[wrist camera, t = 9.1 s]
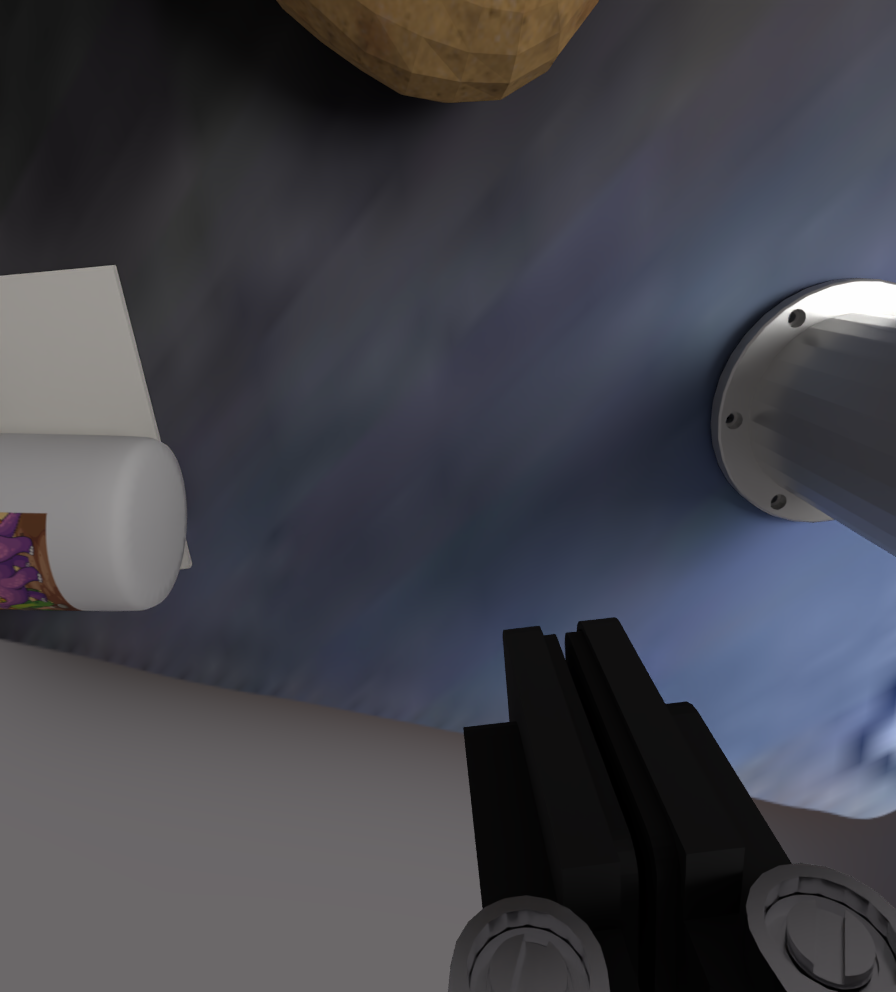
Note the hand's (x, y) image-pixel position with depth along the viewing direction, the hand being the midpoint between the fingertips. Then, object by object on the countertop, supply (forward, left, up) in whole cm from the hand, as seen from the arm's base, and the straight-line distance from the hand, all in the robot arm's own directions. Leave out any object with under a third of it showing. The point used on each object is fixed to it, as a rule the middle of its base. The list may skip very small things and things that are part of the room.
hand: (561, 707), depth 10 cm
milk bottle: (+13, +4, -20) cm, 24 cm away
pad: (+18, +1, -24) cm, 30 cm away
